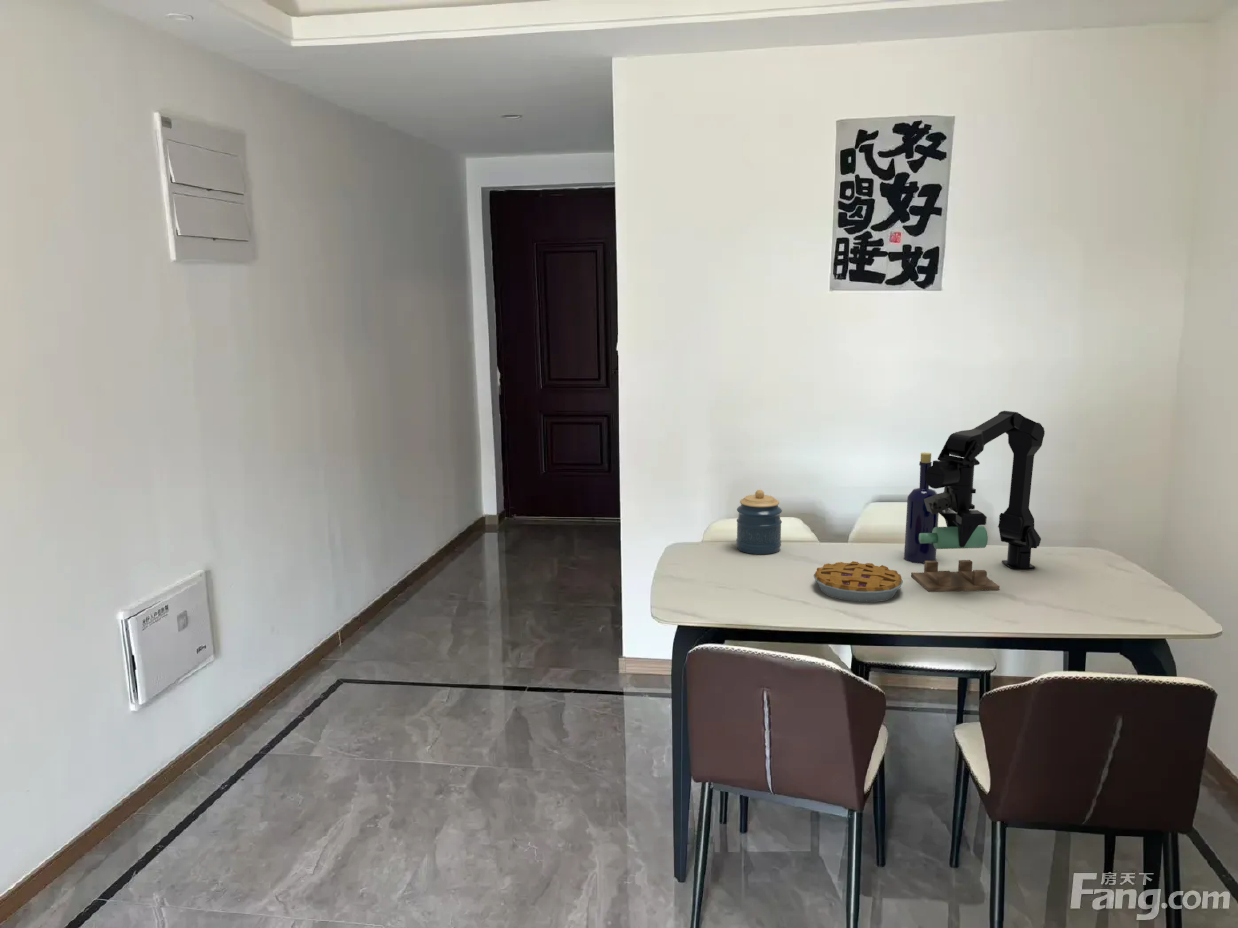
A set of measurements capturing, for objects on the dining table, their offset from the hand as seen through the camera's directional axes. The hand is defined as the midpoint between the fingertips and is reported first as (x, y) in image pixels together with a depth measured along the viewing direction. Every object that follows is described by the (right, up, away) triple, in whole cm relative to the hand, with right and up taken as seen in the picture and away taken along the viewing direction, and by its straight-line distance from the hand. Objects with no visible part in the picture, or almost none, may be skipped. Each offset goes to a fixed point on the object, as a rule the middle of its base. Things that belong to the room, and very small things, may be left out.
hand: (957, 543), depth 225 cm
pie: (-26, -12, -2) cm, 28 cm away
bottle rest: (0, -10, +2) cm, 11 cm away
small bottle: (-1, -1, 0) cm, 2 cm away
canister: (-45, -5, +34) cm, 57 cm away
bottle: (-2, -7, +23) cm, 24 cm away
